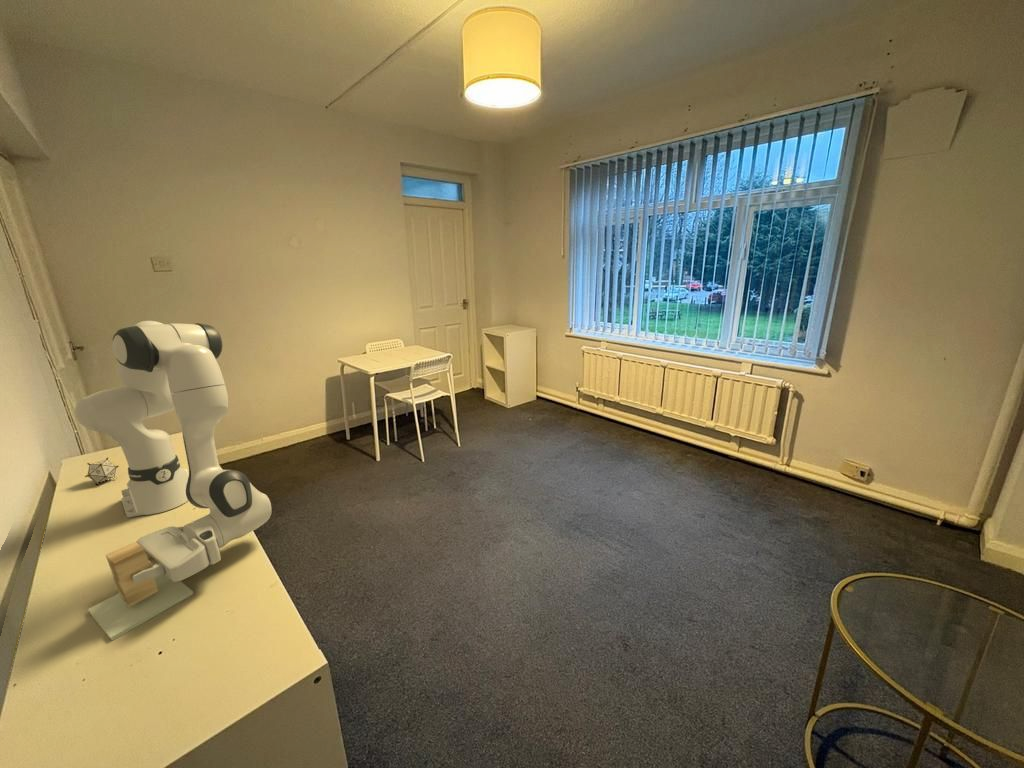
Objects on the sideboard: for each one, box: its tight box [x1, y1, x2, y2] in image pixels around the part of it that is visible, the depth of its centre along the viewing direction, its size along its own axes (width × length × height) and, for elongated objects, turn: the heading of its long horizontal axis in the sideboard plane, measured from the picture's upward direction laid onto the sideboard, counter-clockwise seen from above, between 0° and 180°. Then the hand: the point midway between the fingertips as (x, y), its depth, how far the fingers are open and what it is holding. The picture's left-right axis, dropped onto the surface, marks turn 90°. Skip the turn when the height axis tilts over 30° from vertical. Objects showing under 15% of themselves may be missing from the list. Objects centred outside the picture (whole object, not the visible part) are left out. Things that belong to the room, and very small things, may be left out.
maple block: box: [105, 541, 158, 607], centre depth 89 cm, size 5×5×11 cm
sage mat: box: [87, 574, 194, 641], centre depth 91 cm, size 14×14×1 cm
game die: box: [84, 457, 120, 484], centre depth 144 cm, size 9×8×10 cm
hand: (126, 574), depth 88 cm, fingers closed on maple block, 5 cm apart
